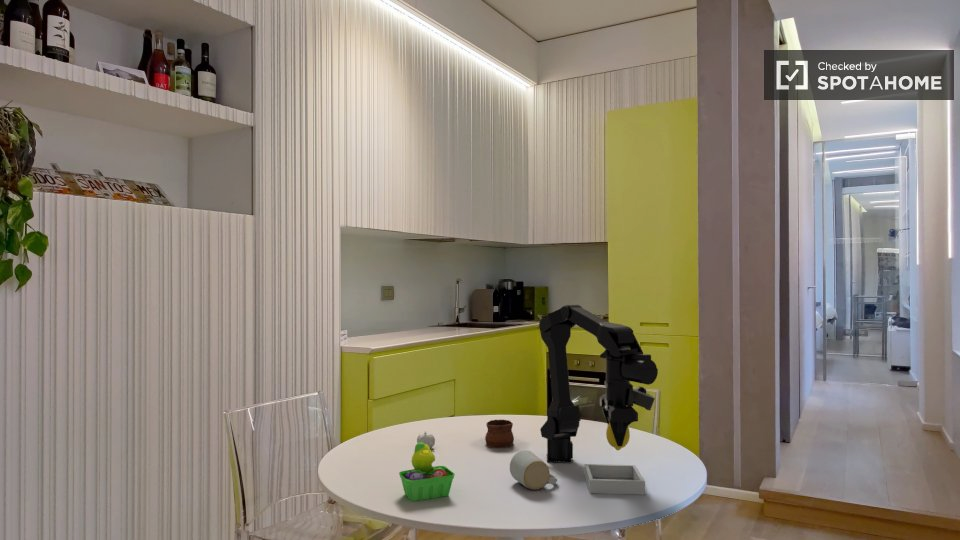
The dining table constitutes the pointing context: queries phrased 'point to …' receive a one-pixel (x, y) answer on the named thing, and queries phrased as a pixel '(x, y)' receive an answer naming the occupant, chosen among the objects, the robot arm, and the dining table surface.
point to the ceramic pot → (499, 434)
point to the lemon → (612, 440)
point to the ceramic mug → (530, 470)
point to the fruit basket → (426, 476)
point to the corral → (614, 484)
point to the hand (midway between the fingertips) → (617, 442)
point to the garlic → (426, 439)
